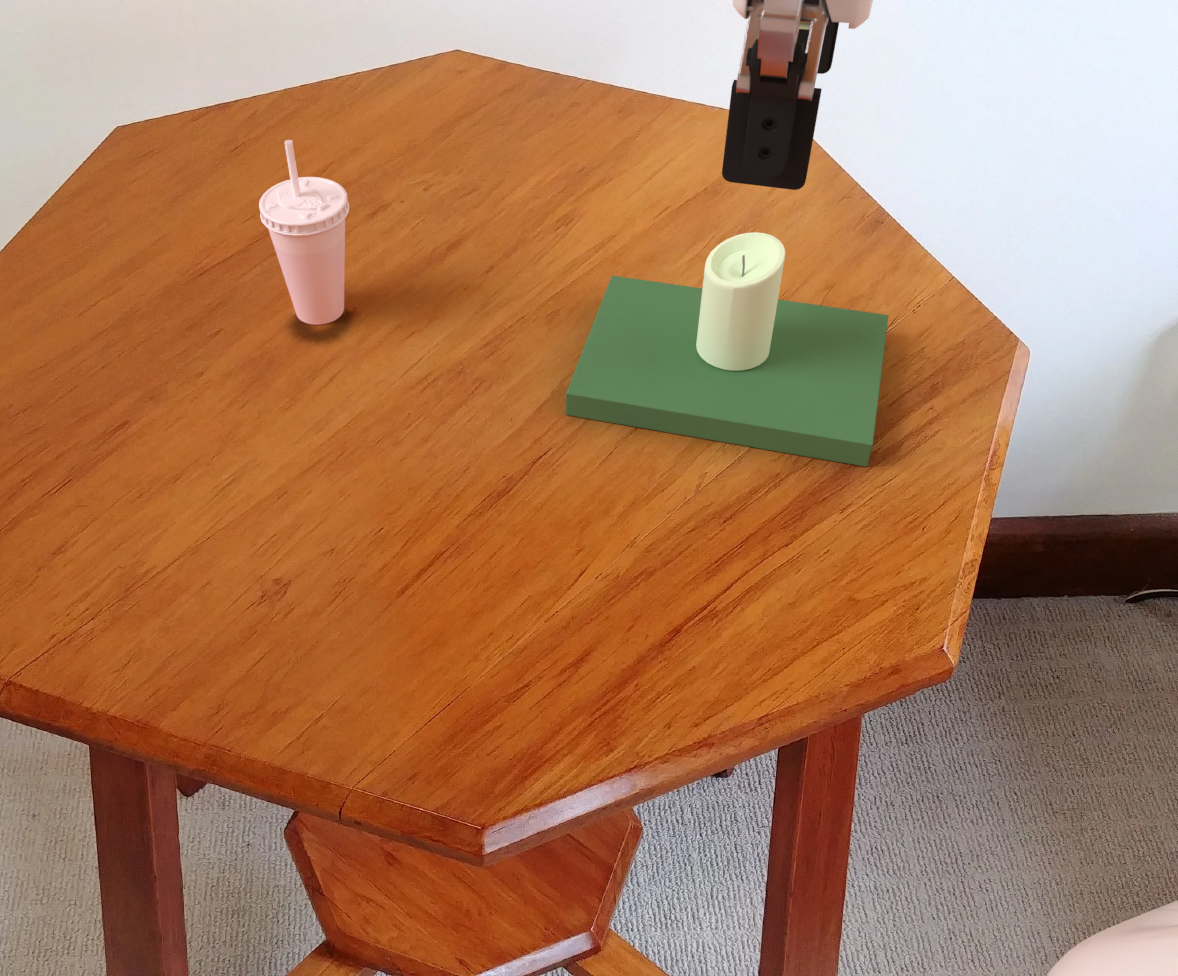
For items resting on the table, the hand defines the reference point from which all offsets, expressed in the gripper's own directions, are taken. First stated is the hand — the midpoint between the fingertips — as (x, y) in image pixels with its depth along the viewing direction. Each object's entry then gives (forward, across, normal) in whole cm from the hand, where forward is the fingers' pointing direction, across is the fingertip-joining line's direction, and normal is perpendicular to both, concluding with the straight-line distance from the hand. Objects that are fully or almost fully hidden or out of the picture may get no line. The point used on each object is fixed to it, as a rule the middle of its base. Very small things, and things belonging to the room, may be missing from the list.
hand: (779, 121), depth 52 cm
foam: (+30, +20, +2) cm, 36 cm away
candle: (+28, +20, +2) cm, 35 cm away
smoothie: (+31, +20, +33) cm, 49 cm away
